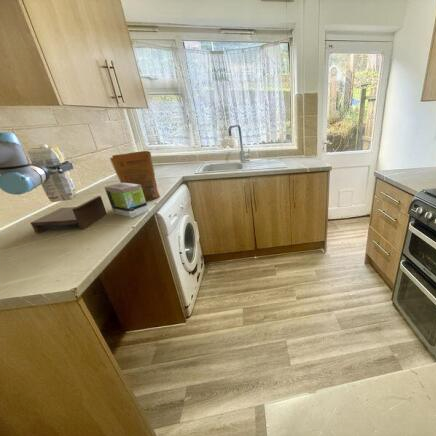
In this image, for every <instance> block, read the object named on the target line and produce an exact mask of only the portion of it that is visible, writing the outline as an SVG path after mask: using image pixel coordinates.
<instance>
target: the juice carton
mask: <svg viewBox="0 0 436 436" xmlns="http://www.w3.org/2000/svg"><path fill="white" fill-rule="evenodd" d="M27 154H28V158H29V161H30V164H40V165H42V166H50V165H52V166H55V165H59V164H62V163H63V162H65V159H64V157H63V155H62V153H61V151H60V149H59V148H58V147H57V146H48V144H39V145H38V147H33V148H28V149H27ZM48 168H49V167H48ZM40 185H41V187H42V189H43V191H44V193H45V195H46V197H47V198H48V200H49V201H50V202H51V203H57V202H64V201H71V200H73V199H75V198H76V197H77V189H76V186H75V184H74V182H73V180H72V177H71V174H70V171H65V172H63V173H61V174H60V173H58V172H56V173H55V174H52V175H50V178H49V179H48V180H47V181H46V182H44V183H42V184H40Z"/></svg>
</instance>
